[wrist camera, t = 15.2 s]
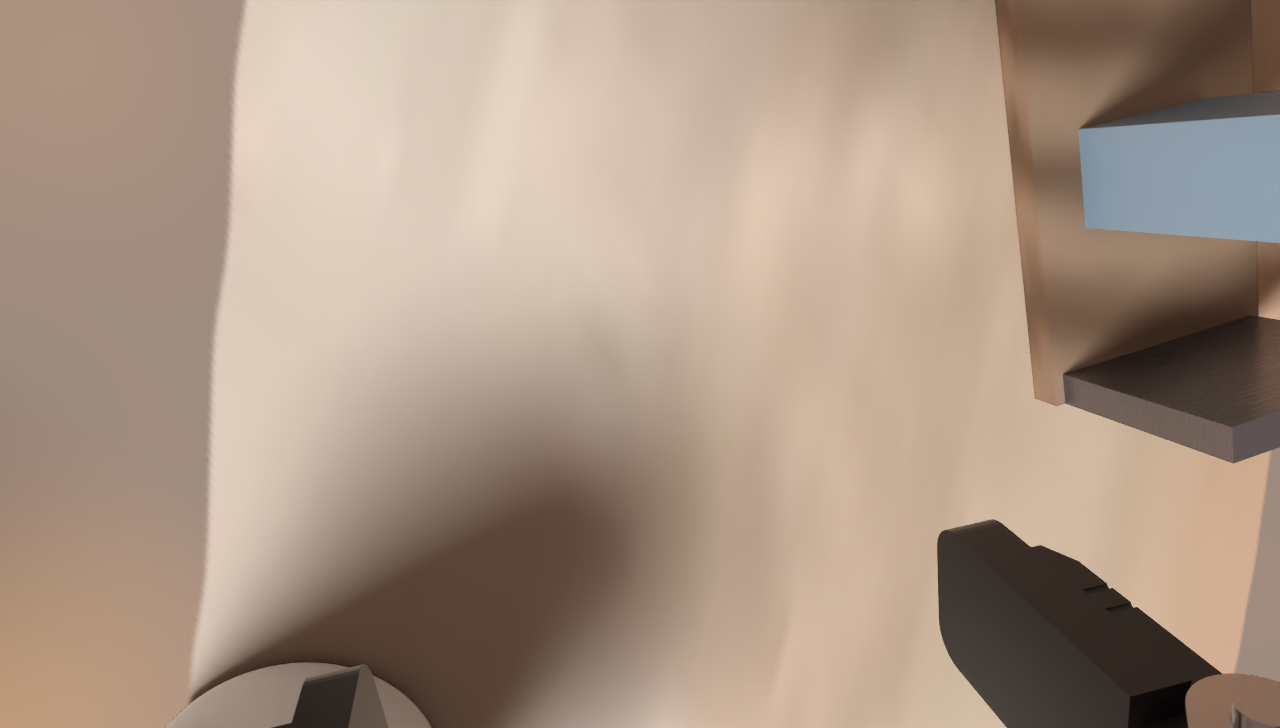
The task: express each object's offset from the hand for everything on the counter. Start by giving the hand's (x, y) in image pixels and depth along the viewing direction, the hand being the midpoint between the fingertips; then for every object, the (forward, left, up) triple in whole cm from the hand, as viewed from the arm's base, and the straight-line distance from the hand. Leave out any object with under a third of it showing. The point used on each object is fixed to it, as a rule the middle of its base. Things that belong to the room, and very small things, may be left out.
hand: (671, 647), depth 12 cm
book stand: (0, +30, -25) cm, 39 cm away
